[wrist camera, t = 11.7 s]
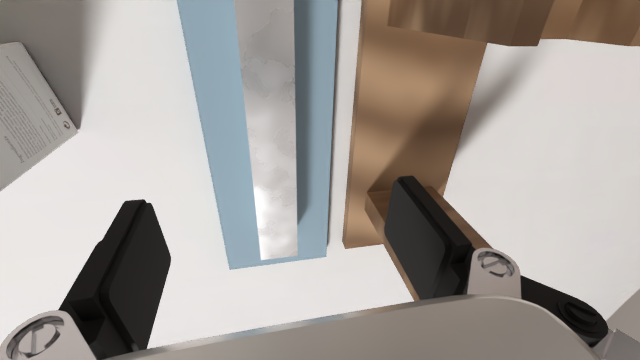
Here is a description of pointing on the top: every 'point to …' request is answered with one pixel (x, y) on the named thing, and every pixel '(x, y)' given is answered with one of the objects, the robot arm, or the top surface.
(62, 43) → the top surface
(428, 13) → the cradle stand
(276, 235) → the aluminium rail
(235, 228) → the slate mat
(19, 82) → the skincare box
